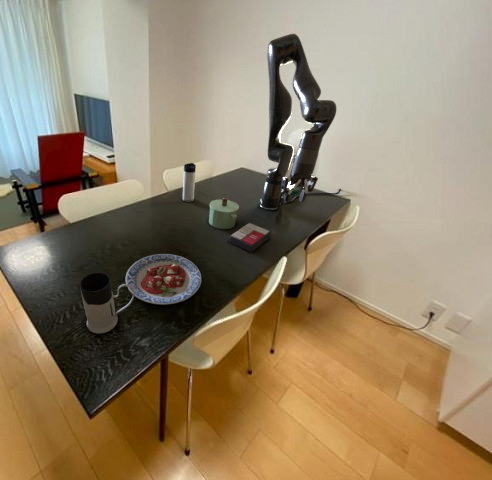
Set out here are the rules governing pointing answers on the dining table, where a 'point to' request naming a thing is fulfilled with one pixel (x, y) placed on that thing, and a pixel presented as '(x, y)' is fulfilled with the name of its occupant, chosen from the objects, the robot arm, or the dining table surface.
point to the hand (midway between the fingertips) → (293, 201)
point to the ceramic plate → (163, 279)
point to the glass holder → (100, 302)
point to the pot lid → (224, 205)
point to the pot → (222, 219)
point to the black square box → (250, 237)
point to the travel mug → (189, 182)
